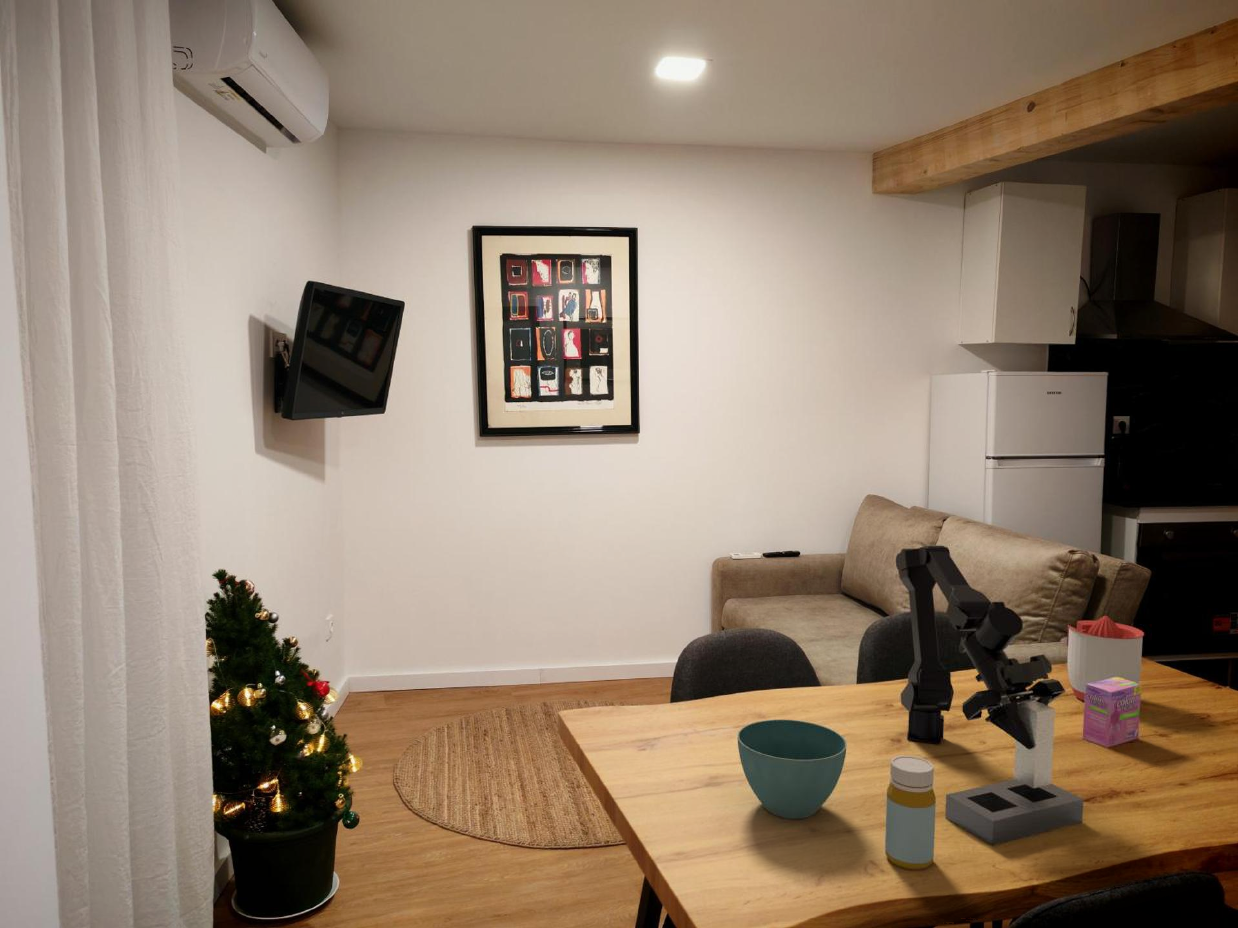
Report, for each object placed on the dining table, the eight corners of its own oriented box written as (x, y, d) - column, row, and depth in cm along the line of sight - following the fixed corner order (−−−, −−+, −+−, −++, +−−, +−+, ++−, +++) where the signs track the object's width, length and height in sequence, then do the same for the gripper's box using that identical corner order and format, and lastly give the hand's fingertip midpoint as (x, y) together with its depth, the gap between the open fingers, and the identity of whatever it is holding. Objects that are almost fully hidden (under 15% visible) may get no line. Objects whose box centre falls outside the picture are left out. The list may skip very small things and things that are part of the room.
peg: (1033, 788, 144) (1037, 711, 143) (1013, 778, 148) (1017, 703, 147) (1050, 784, 146) (1054, 708, 145) (1031, 774, 149) (1034, 700, 148)
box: (1108, 748, 176) (1111, 691, 175) (1081, 738, 181) (1084, 683, 180) (1139, 739, 181) (1142, 683, 180) (1113, 730, 186) (1115, 675, 185)
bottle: (877, 848, 136) (880, 755, 135) (921, 846, 137) (924, 753, 135) (895, 872, 129) (898, 774, 128) (941, 870, 130) (944, 773, 129)
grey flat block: (992, 845, 137) (993, 821, 137) (945, 817, 146) (946, 794, 146) (1082, 821, 145) (1083, 798, 145) (1032, 796, 154) (1033, 774, 154)
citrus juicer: (1071, 682, 217) (1075, 603, 216) (1149, 700, 204) (1154, 616, 203) (1046, 696, 207) (1049, 613, 205) (1127, 716, 194) (1131, 628, 192)
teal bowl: (731, 782, 159) (732, 717, 158) (832, 784, 158) (833, 719, 157) (742, 832, 141) (743, 758, 140) (856, 835, 140) (858, 761, 139)
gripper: (977, 645, 145) (1029, 733, 136) (1058, 633, 152) (1112, 716, 143) (941, 677, 153) (988, 762, 143) (1019, 664, 160) (1068, 745, 151)
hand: (1040, 746), depth 145 cm, fingers closed on peg, 4 cm apart
